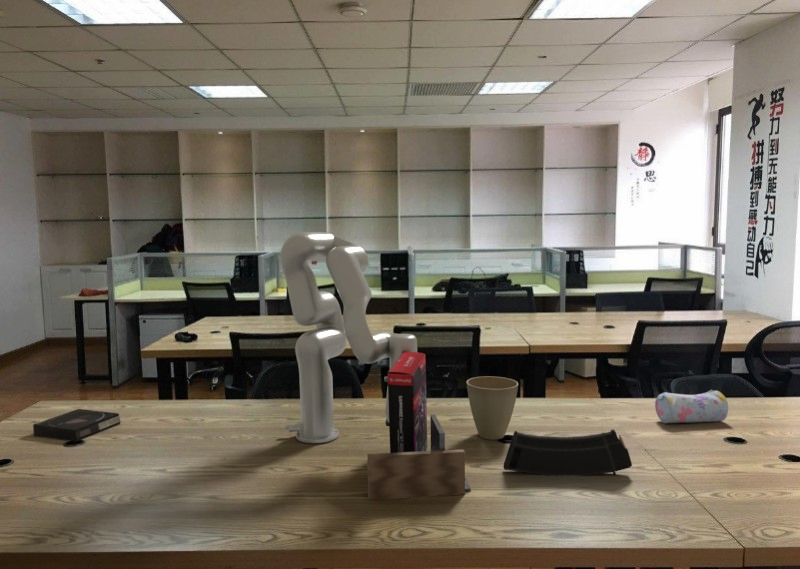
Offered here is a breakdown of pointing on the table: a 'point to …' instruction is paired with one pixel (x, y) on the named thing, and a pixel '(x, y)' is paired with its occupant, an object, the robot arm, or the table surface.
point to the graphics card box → (408, 403)
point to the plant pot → (492, 404)
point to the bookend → (440, 440)
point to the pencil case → (691, 407)
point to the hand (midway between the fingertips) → (405, 445)
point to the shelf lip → (416, 474)
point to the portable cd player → (76, 425)
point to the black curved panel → (567, 454)
